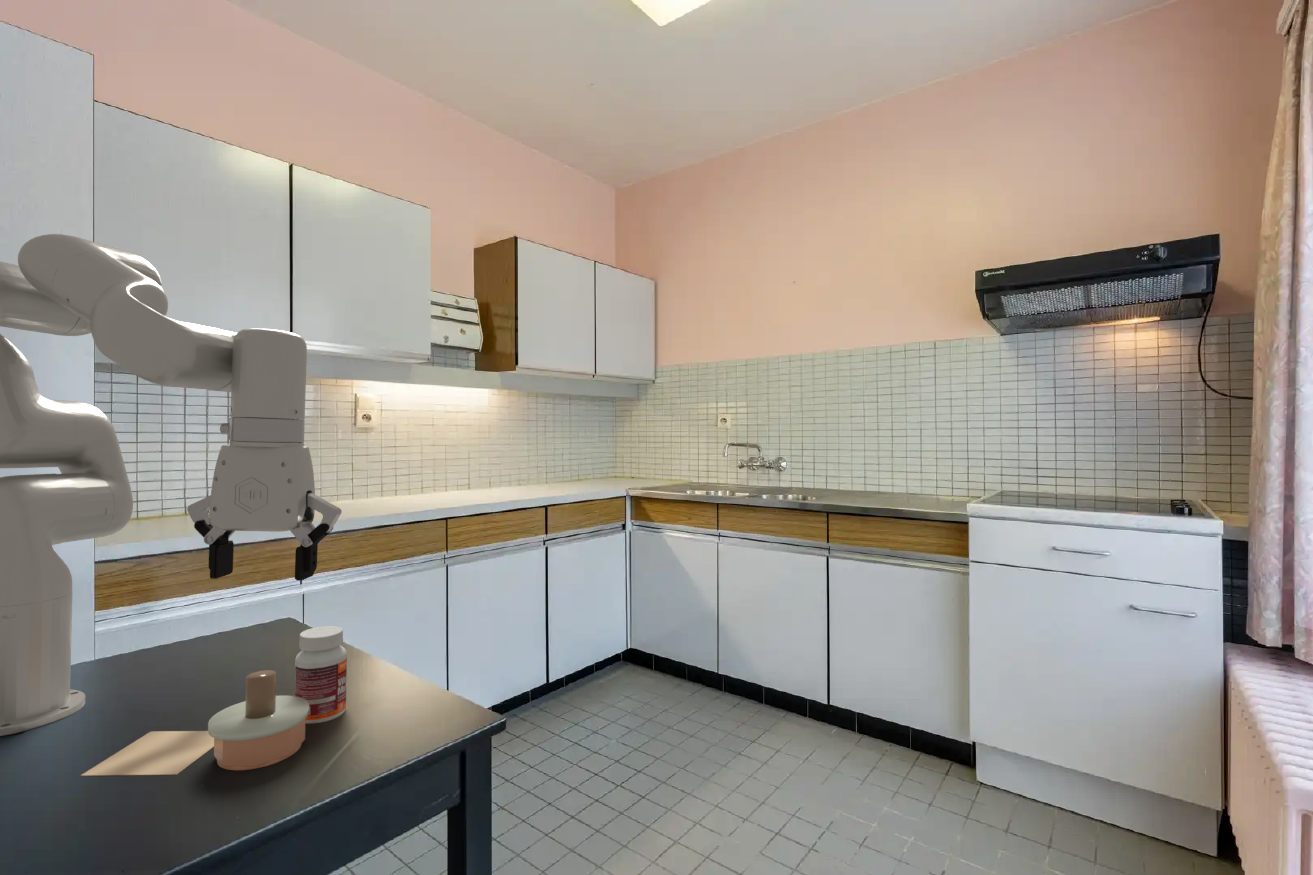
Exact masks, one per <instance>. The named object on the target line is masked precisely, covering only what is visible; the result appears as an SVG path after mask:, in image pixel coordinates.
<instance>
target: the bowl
mask: <svg viewBox="0 0 1313 875" xmlns="http://www.w3.org/2000/svg"><path fill="white" fill-rule="evenodd" d="M305 740H306V723H305V719H304V720H303V721H302V722H300V723H299V724H297V725H296V726H294V727H292V728H290V729H287V730H285V731H282V732H279V733H276V734H273V735H270V736H266V737H261V738H256V739H250V740H241V741H227V740H219V739H216V738H214V747H213V756H214V757H215V759H216V764H217V765H218V766H219V767H220V768H222V769H225V770H228V771H246V770H248V771H249V770H255V769H259V768H263V767H267V766H268V767H269V766H271V765H274V764H277V763H279V762H282V761H283V760H287V759H288V758H291V756H292V755H294V754H295V753H297V752H298V751H299V749H300V748H301V746H302V743H303V742H304V741H305Z"/></svg>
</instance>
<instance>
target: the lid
mask: <svg viewBox="0 0 1313 875" xmlns="http://www.w3.org/2000/svg"><path fill="white" fill-rule="evenodd" d="M308 714H309V702H308V701H307V700H306V699H304V698H301V697H297V696H294V695H277V672H276V670H271V669H270V670H269V669H267V670H266V669H265V670H259V671H255V672H254V671H253V672H251V673H249V674H248V675H246V677H245V700H244V701H241V702H239V703H235V704H232V705H230V706H228V707H225V708H224V709H221V710H220V711H218V712H216V713H215V714H213V716H211V717H210V718H209V721H208V722H207V731H208V733H209V735H210V736H211V737H213V738H216V739H219V740H227V741H241V740H250V739H256V738H261V737H266V736H270V735H273V734H276V733H279V732H282V731H285V730H287V729H290V728H292V727H294V726H296V725H297V724H299V723H300V722H302V721H303V720H304V719H305V718H306V717H307V716H308Z"/></svg>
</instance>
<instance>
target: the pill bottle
mask: <svg viewBox="0 0 1313 875" xmlns="http://www.w3.org/2000/svg"><path fill="white" fill-rule="evenodd" d="M343 643H344V630H343V628H342V627H340V626H336V625H335V626H334V625H324V626H317V627H312V628H308V629H305V630H303V631H302V632H300V634H299V643H298V644H299V645H298V646H299V647H298V648H299V649H300V650H301V651H300V652H299V653H298V654H296V657H295V660H294V695H293V696H297V697H301V698H304V699H306V700H307V701H308V702H309V714H308V716H307V717H306V718H305V724H317V723H324V722H328V721H331V720H334V719H337V718H339V717H341V716H342V715H343V714H344V713H345V712H346V710H347V680H348V679H347V677H348V676H347V675H348V673H347V671H348V670H347V667H348V666H347V661H348V660H347V659H348V655H347V654H348V652H347V649H346V648H345V647H344V646H342V644H343Z"/></svg>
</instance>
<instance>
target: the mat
mask: <svg viewBox="0 0 1313 875" xmlns="http://www.w3.org/2000/svg"><path fill="white" fill-rule="evenodd" d="M212 749H214V738H213V737H211V736H210V735H209V733H208V730H179V731H178V730H176V731H175V730H170V731H169V730H164V731H163V730H159V731H157V730H156V731H155V730H154V731H153V730H152V731H149V732H147V733H146V734H144V735H143V736H142V737H140V738H138V739H136V740H134V741H133V742H131V743H130V744H128V745H127V746H125V747H124V748H122V749H120V750H119V751H117V752H115V753H114V754H113V755H110V756H109V757H107V758H106V759H104V760H103V761H101V762H99V763H98V764H97V765H95V766H92V768H90V769H88V770H87V771H85V772H84V773H81V774H80V777H100V776H101V777H103V776H104V777H106V776H107V777H111V776H112V777H114V776H115V777H116V776H118V777H120V776H121V777H123V776H126V777H127V776H178V775H179V774H180V773H182V772H183V771H184V770H185V769H186V768H187V769H188V768H189V766H191V765H192V764H193V763H195V762H196V761H197V760H198V759H200V758H201V757H203V756H204V755H205V754H207V753H208V752H209V751H211V750H212Z"/></svg>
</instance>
